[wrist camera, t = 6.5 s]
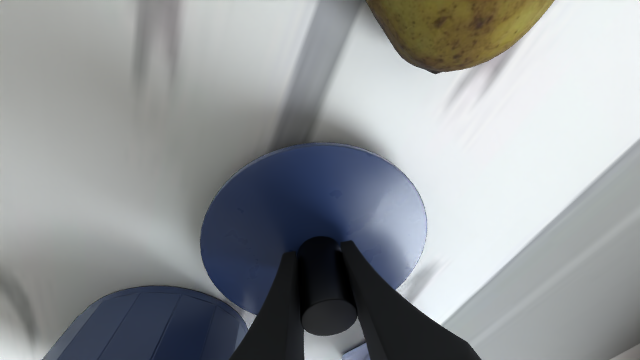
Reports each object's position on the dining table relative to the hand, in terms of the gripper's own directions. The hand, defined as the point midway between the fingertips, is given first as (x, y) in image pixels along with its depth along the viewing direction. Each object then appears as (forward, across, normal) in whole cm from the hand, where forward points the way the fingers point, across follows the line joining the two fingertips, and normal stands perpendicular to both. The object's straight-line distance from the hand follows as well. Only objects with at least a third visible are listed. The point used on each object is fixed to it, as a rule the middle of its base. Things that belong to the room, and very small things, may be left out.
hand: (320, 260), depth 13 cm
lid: (+1, 0, 0) cm, 1 cm away
